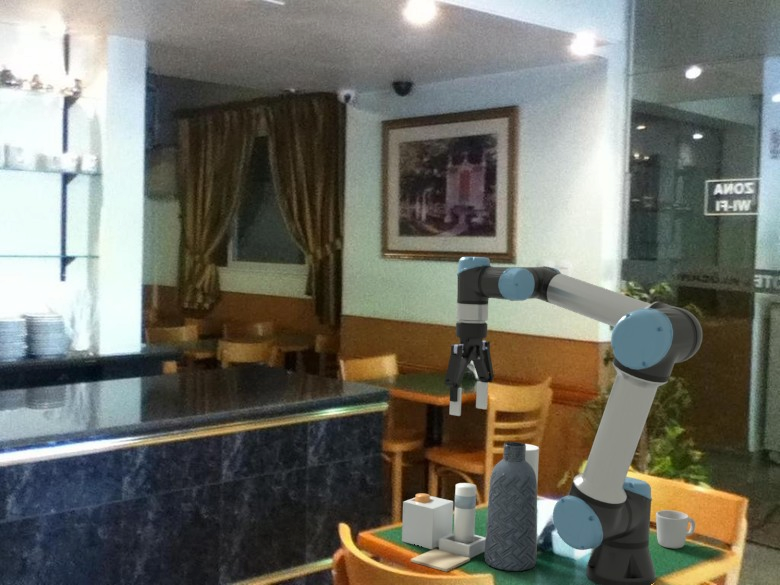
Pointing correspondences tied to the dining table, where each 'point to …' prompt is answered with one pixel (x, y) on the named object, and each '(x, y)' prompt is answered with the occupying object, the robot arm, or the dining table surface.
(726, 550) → the dining table surface
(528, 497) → the vase
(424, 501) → the brown egg
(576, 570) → the dining table surface
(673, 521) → the cup
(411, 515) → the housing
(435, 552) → the coaster
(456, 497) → the cylinder
